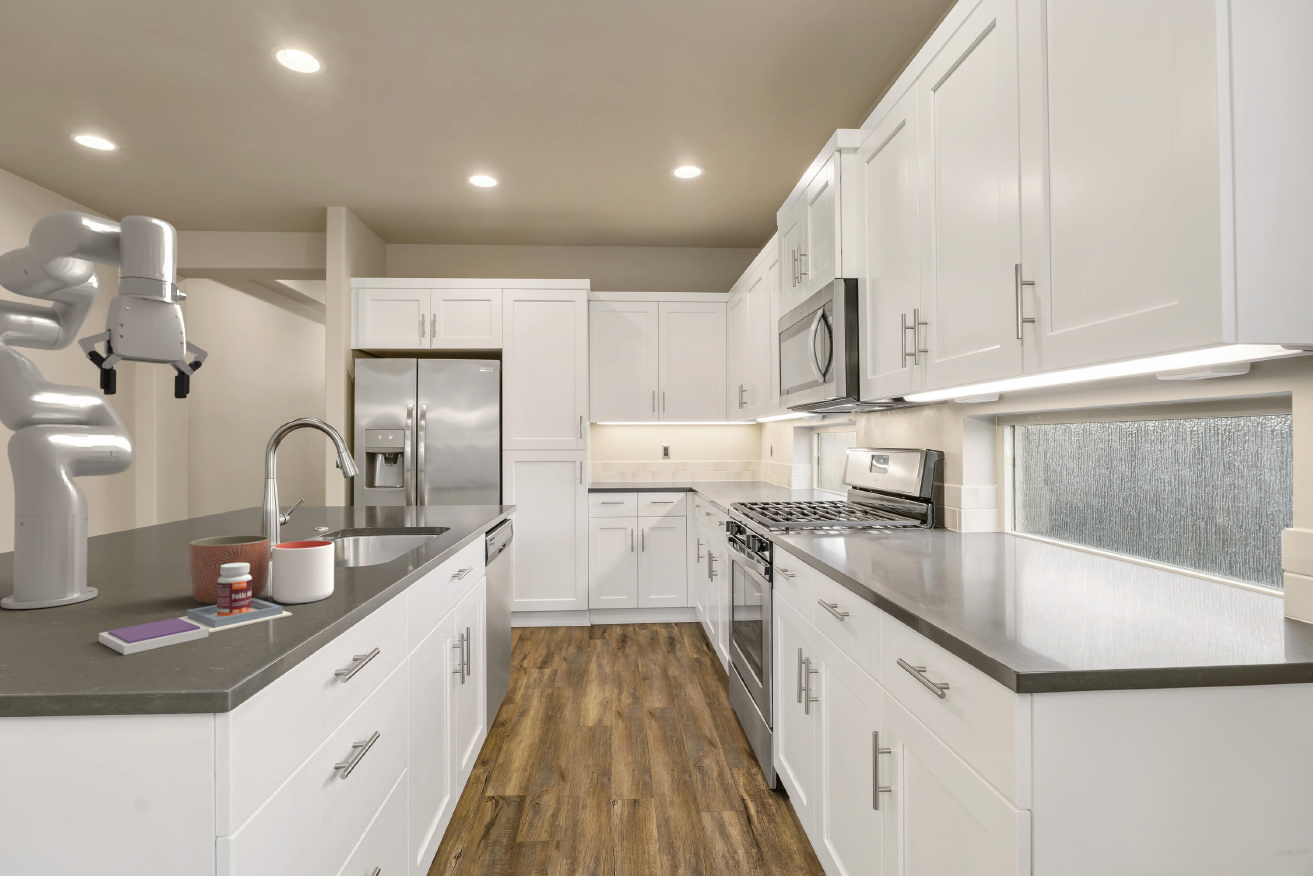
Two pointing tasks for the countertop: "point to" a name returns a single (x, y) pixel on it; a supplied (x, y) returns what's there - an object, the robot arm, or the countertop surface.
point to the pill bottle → (234, 589)
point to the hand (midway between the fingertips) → (146, 396)
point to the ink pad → (152, 635)
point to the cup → (302, 571)
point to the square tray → (235, 616)
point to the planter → (227, 562)
